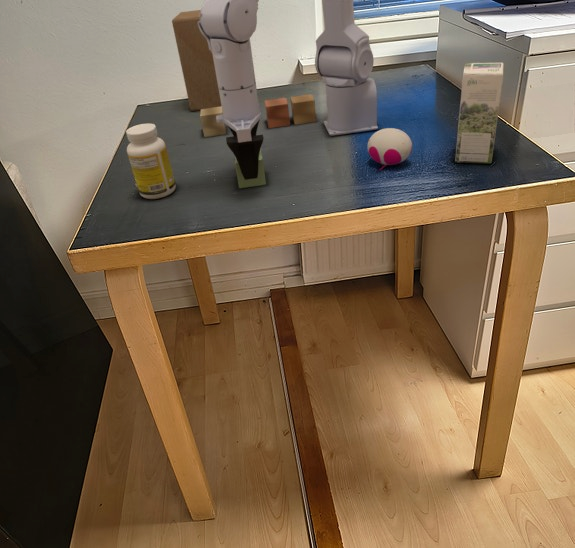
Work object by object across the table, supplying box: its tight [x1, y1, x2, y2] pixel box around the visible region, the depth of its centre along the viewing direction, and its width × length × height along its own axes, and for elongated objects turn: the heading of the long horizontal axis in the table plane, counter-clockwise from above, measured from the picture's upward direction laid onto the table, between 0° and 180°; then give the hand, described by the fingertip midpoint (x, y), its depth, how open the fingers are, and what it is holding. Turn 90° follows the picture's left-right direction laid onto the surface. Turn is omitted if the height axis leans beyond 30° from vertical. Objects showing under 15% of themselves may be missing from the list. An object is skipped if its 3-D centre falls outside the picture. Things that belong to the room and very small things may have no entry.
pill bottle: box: [125, 123, 177, 200], centre depth 85 cm, size 6×6×11 cm
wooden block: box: [171, 9, 222, 112], centre depth 121 cm, size 10×10×20 cm
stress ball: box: [366, 127, 413, 171], centre depth 86 cm, size 8×8×7 cm
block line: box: [199, 93, 317, 138], centre depth 108 cm, size 24×4×4 cm, turn 96°
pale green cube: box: [233, 149, 267, 189], centre depth 86 cm, size 4×4×4 cm
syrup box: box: [454, 62, 505, 165], centre depth 82 cm, size 6×6×14 cm
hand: (249, 168), depth 86 cm, fingers open, 7 cm apart
